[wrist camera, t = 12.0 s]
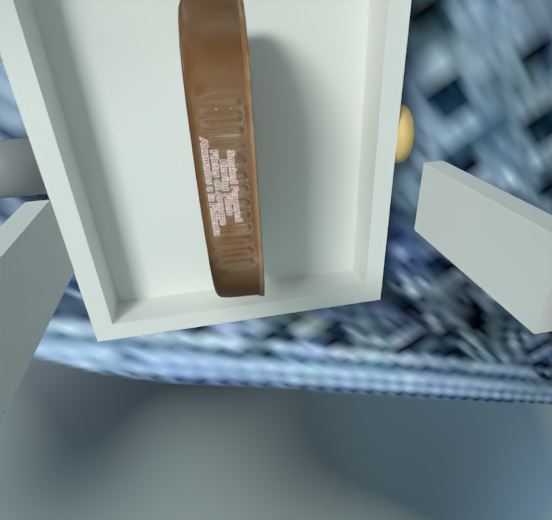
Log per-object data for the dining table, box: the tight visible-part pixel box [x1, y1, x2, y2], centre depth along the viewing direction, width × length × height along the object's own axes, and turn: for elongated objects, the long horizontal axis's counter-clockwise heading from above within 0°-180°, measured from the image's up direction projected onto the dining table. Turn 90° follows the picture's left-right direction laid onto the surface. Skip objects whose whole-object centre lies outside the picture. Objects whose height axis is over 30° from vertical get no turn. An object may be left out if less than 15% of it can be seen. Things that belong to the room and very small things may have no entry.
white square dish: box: [0, 0, 414, 342], centre depth 23 cm, size 24×22×4 cm
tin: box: [178, 0, 265, 298], centre depth 20 cm, size 15×3×8 cm, turn 2°
